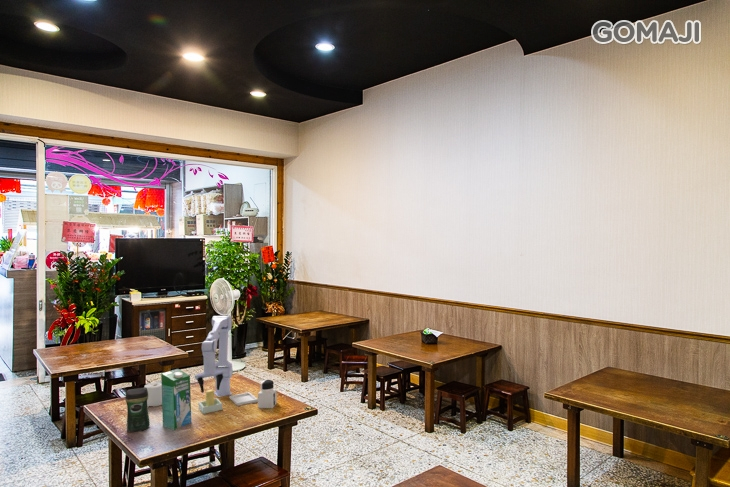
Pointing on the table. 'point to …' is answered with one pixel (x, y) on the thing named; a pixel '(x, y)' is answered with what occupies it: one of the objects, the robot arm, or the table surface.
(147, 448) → the table surface
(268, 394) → the container
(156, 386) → the toilet tissue
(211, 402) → the peg
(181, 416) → the milk carton
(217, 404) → the square storage bin
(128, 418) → the coffee jar
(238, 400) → the tray
